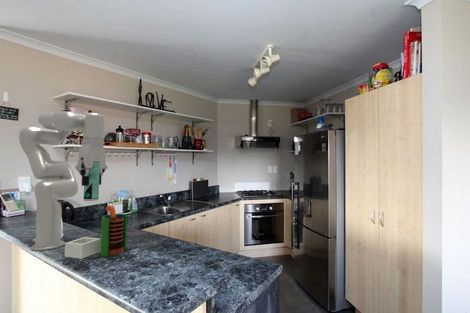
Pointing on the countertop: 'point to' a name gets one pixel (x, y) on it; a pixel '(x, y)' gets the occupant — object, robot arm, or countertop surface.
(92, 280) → the countertop surface
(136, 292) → the countertop surface
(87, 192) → the spray can
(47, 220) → the robot arm
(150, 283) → the countertop surface
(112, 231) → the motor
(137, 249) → the countertop surface
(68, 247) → the square frame
